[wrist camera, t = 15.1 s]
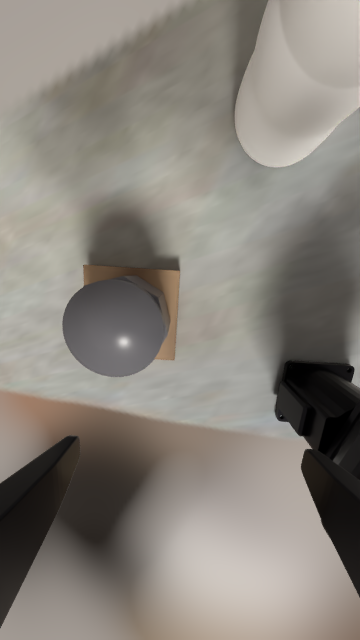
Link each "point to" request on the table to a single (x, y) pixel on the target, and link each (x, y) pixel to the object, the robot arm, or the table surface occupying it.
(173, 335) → the stud block
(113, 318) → the cap
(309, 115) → the water bottle
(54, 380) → the table surface
